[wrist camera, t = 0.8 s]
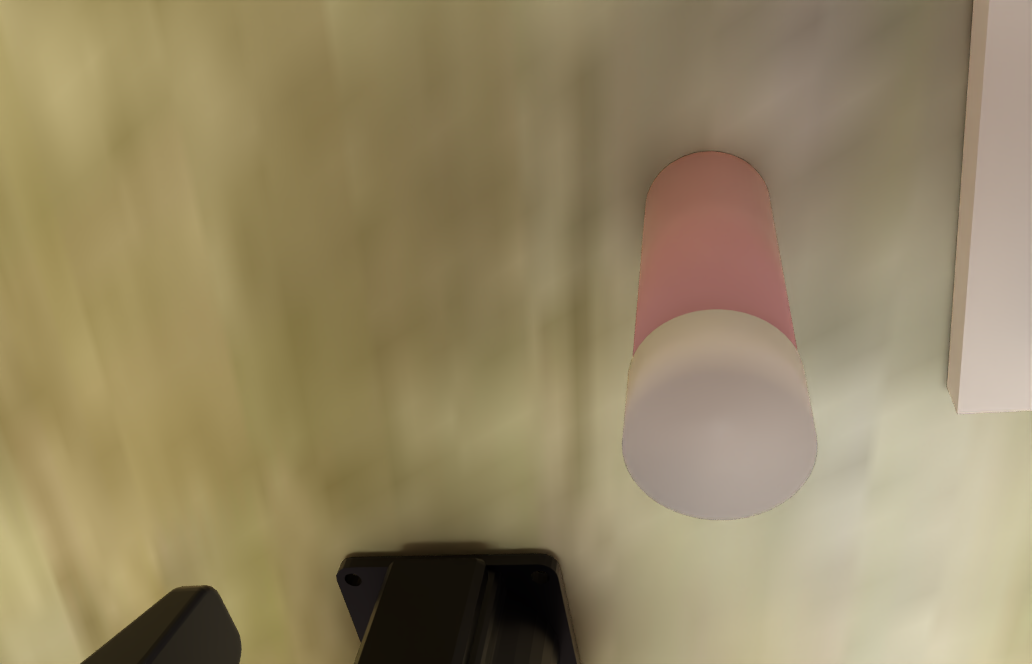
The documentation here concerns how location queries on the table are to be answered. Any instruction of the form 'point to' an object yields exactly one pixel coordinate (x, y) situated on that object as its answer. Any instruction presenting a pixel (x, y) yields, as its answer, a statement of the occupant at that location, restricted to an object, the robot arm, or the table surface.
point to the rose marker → (715, 349)
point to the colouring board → (995, 218)
